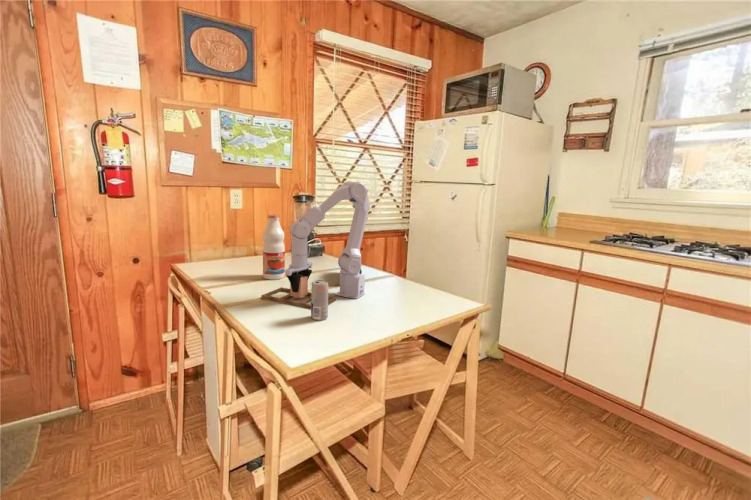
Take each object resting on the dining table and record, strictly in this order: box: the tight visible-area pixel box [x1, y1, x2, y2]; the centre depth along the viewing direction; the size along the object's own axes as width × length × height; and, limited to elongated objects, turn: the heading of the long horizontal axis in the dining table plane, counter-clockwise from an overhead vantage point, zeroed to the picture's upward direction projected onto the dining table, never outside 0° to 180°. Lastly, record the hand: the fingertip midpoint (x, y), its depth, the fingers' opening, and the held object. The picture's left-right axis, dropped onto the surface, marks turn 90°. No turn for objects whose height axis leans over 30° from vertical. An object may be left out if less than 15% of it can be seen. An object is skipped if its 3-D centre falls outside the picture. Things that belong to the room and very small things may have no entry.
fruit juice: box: [262, 214, 286, 281], centre depth 161 cm, size 9×9×28 cm
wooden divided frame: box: [260, 286, 337, 309], centre depth 135 cm, size 25×12×1 cm, turn 67°
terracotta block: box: [289, 276, 309, 298], centre depth 134 cm, size 4×4×7 cm
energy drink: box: [310, 279, 329, 322], centre depth 117 cm, size 5×5×12 cm
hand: (299, 290), depth 135 cm, fingers closed on terracotta block, 4 cm apart
